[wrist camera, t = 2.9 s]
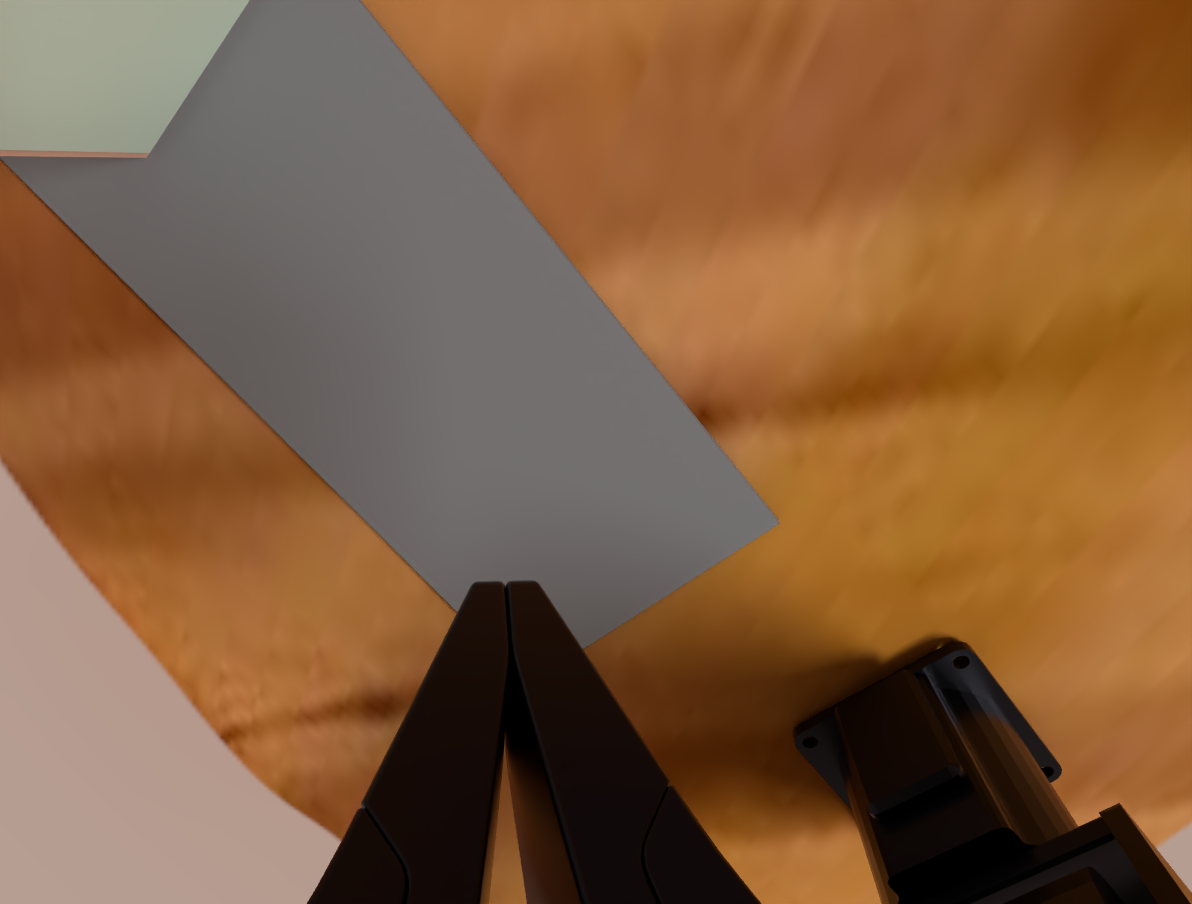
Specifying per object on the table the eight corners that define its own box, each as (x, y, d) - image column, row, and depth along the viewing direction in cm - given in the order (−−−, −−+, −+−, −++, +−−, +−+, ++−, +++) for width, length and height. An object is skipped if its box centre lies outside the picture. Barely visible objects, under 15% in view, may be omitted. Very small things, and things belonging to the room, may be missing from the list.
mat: (777, 519, 22) (779, 523, 21) (530, 677, 24) (529, 683, 24) (-6, -455, 15) (-18, -467, 14) (-222, -73, 17) (-236, -77, 17)
